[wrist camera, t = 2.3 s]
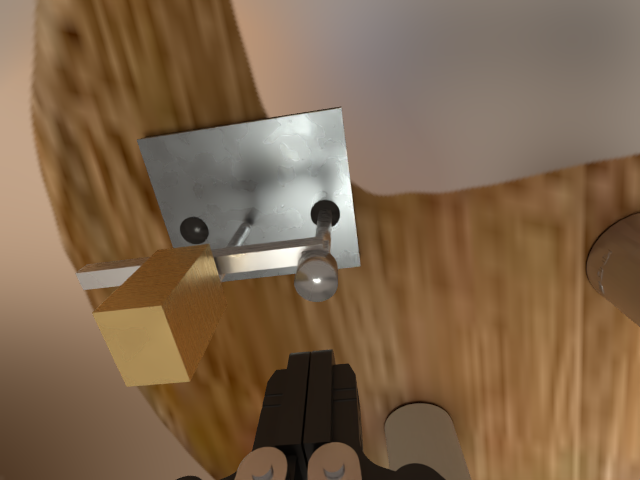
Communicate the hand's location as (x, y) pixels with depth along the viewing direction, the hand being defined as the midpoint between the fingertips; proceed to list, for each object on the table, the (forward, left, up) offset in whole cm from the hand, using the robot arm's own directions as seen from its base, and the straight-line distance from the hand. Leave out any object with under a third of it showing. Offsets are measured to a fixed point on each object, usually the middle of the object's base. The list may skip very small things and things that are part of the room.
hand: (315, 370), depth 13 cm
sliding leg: (+8, 0, -20) cm, 21 cm away
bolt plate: (+7, 0, -22) cm, 23 cm away
